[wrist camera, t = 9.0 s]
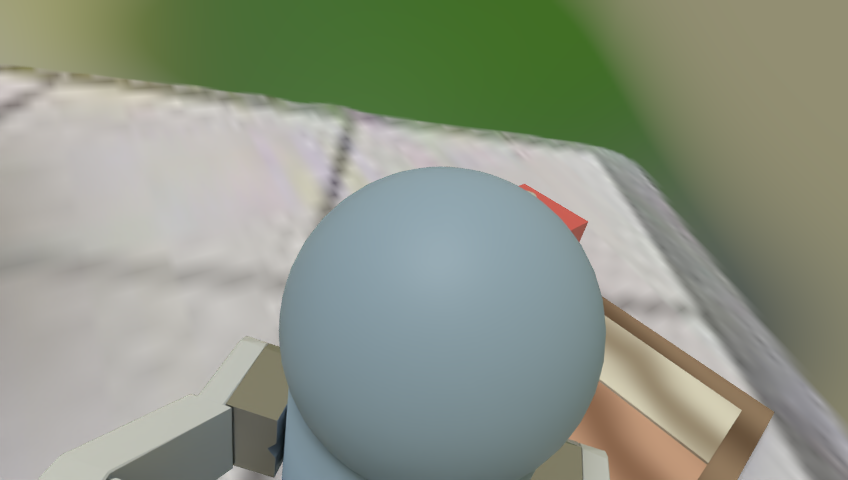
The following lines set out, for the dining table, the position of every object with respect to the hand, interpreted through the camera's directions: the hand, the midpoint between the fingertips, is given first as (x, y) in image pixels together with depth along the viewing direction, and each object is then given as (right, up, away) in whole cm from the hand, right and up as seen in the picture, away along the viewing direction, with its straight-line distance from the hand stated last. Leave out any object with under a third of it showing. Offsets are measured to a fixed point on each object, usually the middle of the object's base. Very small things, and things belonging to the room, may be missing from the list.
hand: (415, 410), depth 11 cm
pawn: (-2, -6, +3) cm, 7 cm away
